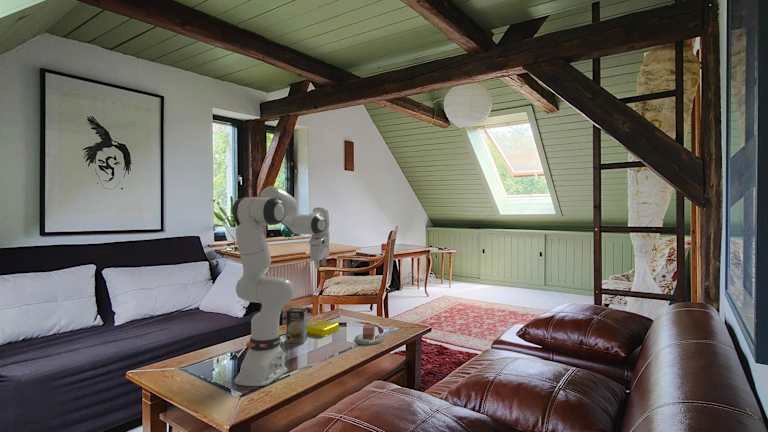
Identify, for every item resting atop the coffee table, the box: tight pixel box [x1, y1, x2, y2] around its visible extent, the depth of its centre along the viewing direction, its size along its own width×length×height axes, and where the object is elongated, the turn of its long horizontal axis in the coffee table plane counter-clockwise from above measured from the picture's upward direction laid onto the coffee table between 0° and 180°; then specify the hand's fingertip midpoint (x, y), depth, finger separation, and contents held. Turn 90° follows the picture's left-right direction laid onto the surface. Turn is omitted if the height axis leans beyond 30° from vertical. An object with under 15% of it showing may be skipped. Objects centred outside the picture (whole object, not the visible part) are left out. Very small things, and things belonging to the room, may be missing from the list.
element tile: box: [307, 318, 340, 338], centre depth 226 cm, size 15×15×5 cm
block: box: [362, 323, 376, 340], centre depth 212 cm, size 5×5×6 cm
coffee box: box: [285, 307, 308, 345], centre depth 209 cm, size 9×6×16 cm
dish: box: [354, 333, 384, 346], centre depth 212 cm, size 14×14×1 cm
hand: (320, 267), depth 213 cm, fingers open, 8 cm apart
